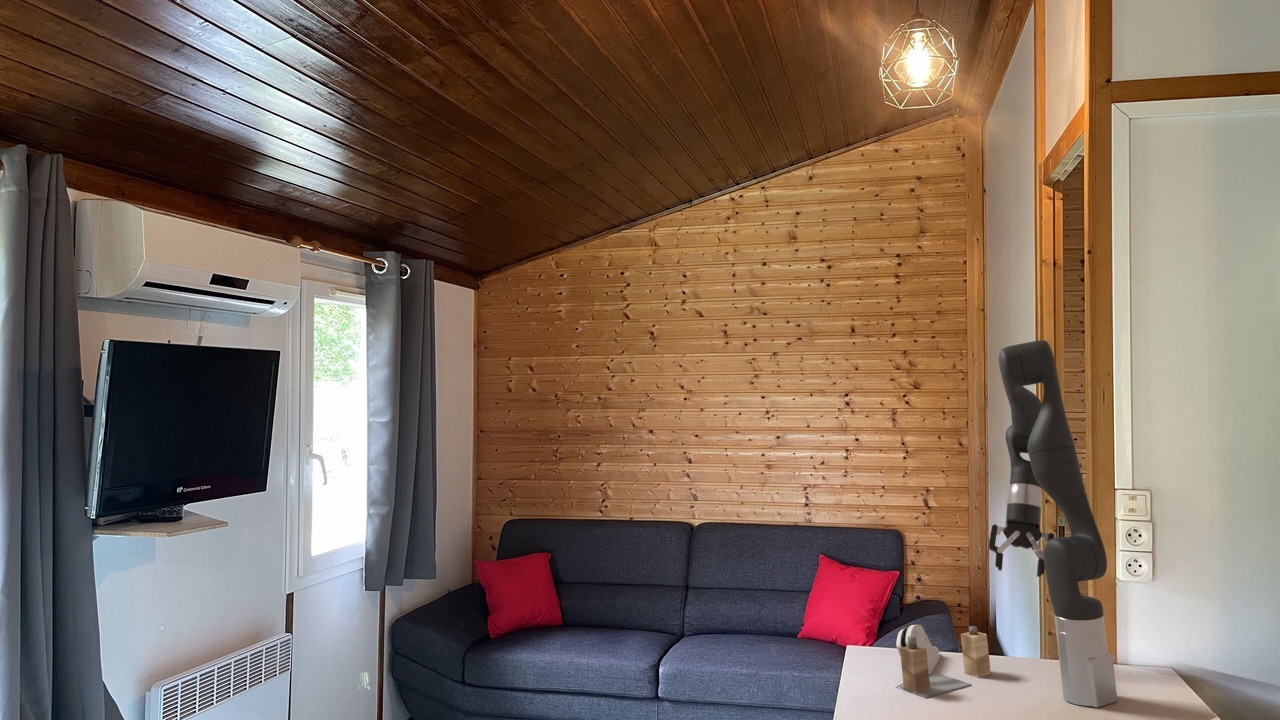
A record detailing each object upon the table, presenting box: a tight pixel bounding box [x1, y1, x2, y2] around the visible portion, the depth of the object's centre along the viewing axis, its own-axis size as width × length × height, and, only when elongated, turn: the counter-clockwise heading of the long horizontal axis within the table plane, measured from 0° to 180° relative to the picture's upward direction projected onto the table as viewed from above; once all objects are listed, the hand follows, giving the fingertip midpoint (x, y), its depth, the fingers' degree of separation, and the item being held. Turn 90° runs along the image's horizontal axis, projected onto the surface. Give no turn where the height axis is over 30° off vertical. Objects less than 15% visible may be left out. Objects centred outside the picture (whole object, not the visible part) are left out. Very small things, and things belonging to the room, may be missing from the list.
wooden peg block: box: [960, 625, 992, 678], centre depth 208 cm, size 4×4×11 cm
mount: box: [896, 636, 972, 699], centre depth 203 cm, size 10×13×12 cm
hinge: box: [895, 624, 942, 676], centre depth 219 cm, size 17×5×10 cm, turn 153°
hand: (1019, 573), depth 213 cm, fingers open, 8 cm apart
